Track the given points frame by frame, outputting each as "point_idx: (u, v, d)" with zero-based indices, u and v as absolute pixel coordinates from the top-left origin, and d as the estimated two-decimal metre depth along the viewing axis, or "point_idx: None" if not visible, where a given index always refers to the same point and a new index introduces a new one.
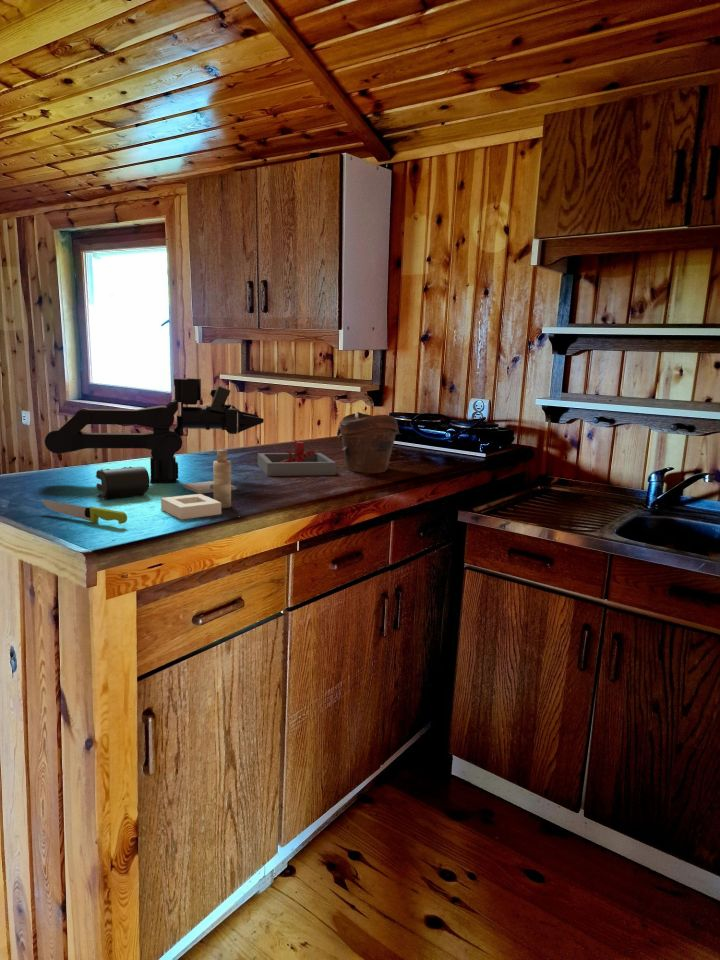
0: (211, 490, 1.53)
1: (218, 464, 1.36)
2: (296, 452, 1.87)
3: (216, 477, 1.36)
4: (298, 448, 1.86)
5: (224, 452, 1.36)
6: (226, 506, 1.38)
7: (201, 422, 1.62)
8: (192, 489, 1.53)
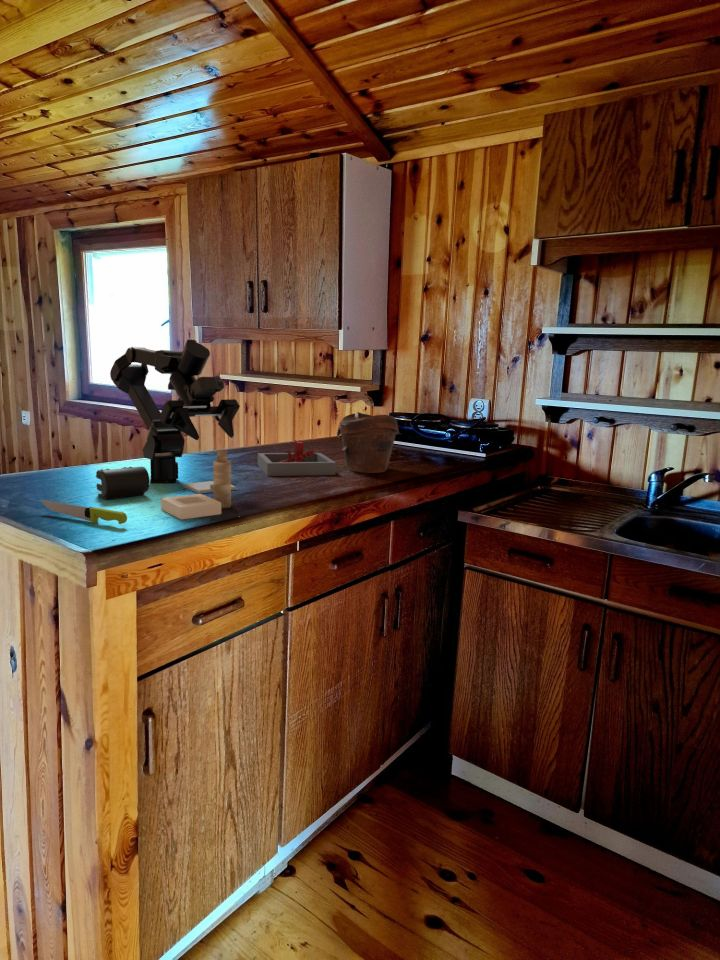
0: (211, 490, 1.53)
1: (218, 464, 1.36)
2: (295, 452, 1.87)
3: (216, 477, 1.36)
4: (297, 448, 1.86)
5: (224, 452, 1.36)
6: (226, 506, 1.38)
7: (177, 392, 1.49)
8: (192, 489, 1.53)
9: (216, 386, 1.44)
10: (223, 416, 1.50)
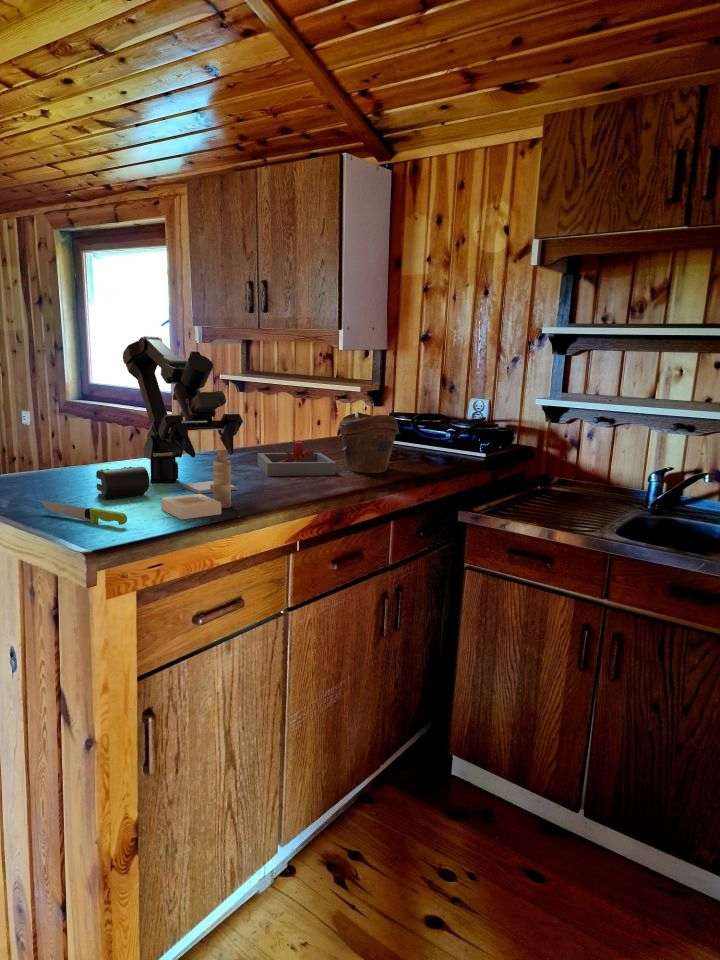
0: (211, 490, 1.53)
1: (218, 464, 1.36)
2: (295, 452, 1.87)
3: (216, 477, 1.36)
4: (297, 448, 1.86)
5: (224, 452, 1.36)
6: (226, 506, 1.38)
7: (179, 404, 1.46)
8: (192, 489, 1.53)
9: (216, 402, 1.40)
10: (225, 431, 1.46)
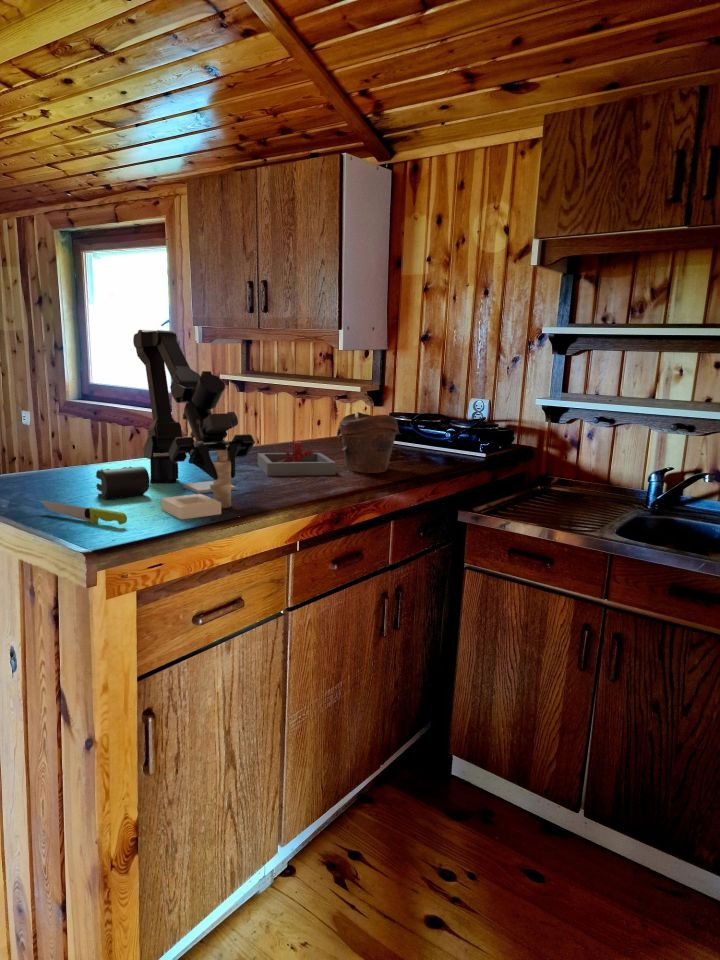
0: (211, 490, 1.53)
1: (218, 464, 1.36)
2: (294, 452, 1.87)
3: None
4: (296, 448, 1.86)
5: (224, 452, 1.36)
6: (226, 506, 1.38)
7: (190, 425, 1.42)
8: (192, 489, 1.53)
9: (228, 424, 1.36)
10: None
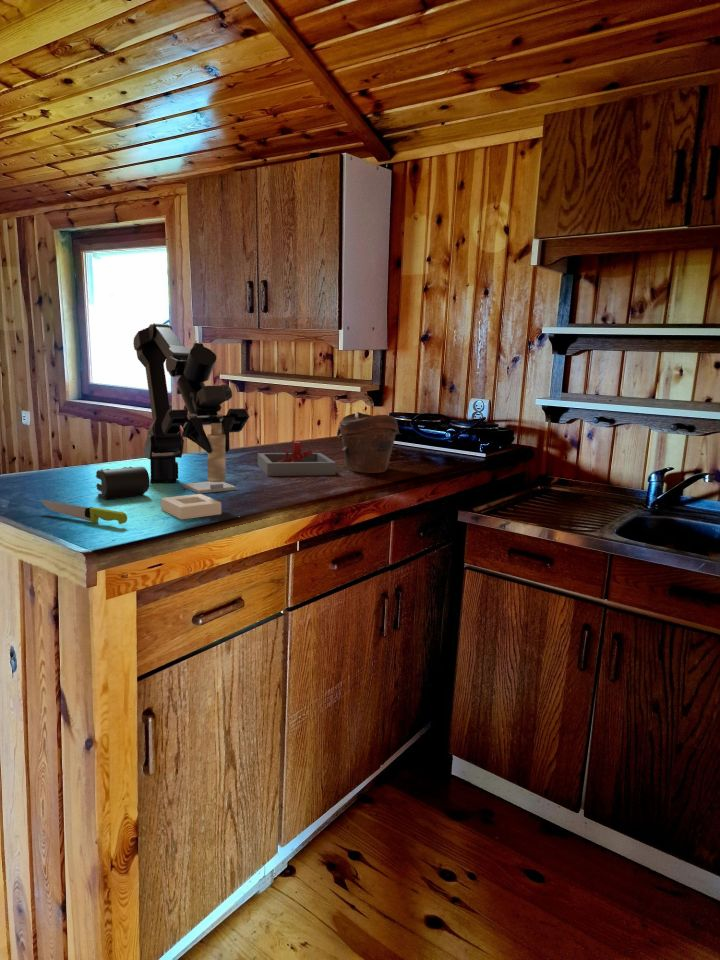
0: (211, 490, 1.53)
1: (212, 437, 1.33)
2: (293, 452, 1.87)
3: None
4: (295, 448, 1.86)
5: (218, 425, 1.34)
6: (220, 480, 1.36)
7: (183, 398, 1.40)
8: (192, 489, 1.53)
9: (222, 396, 1.34)
10: None
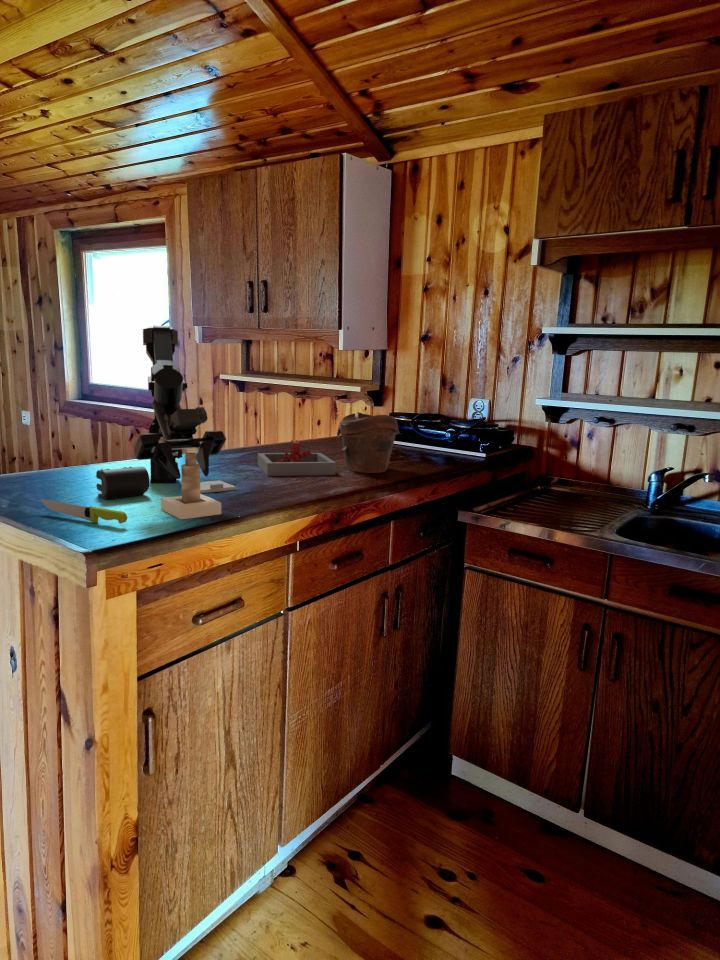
0: (211, 490, 1.53)
1: (186, 468, 1.30)
2: (292, 452, 1.87)
3: (184, 481, 1.30)
4: (294, 448, 1.86)
5: (192, 455, 1.30)
6: None
7: (158, 421, 1.36)
8: None
9: (197, 419, 1.30)
10: (200, 450, 1.35)
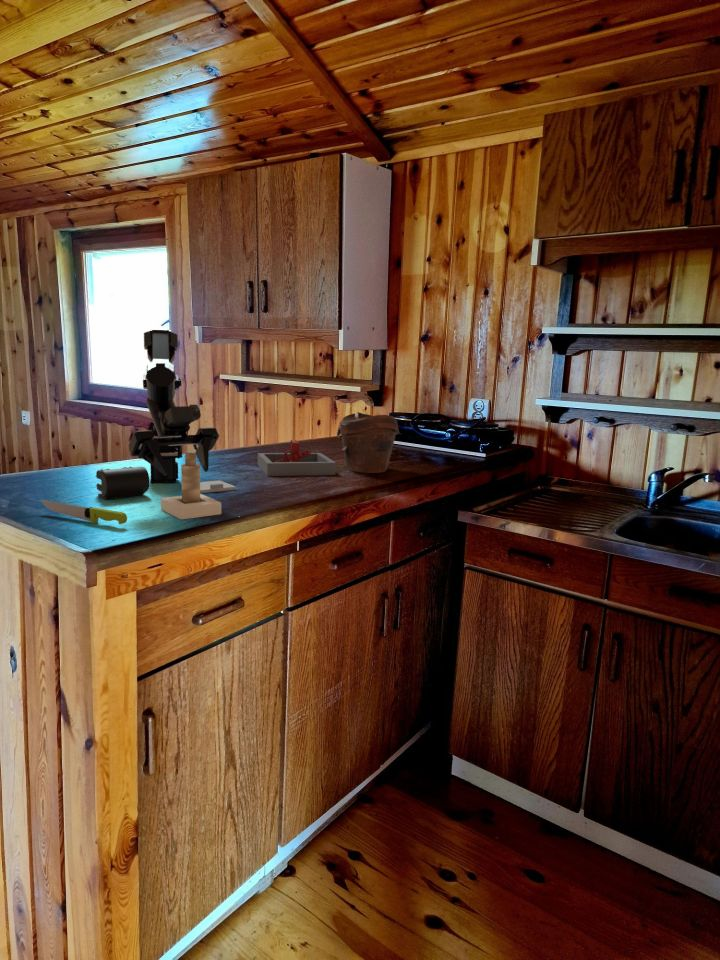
0: (211, 490, 1.53)
1: (186, 468, 1.30)
2: (291, 452, 1.86)
3: (184, 481, 1.30)
4: (293, 448, 1.86)
5: (192, 455, 1.30)
6: None
7: (152, 418, 1.38)
8: None
9: (190, 417, 1.33)
10: (200, 446, 1.39)
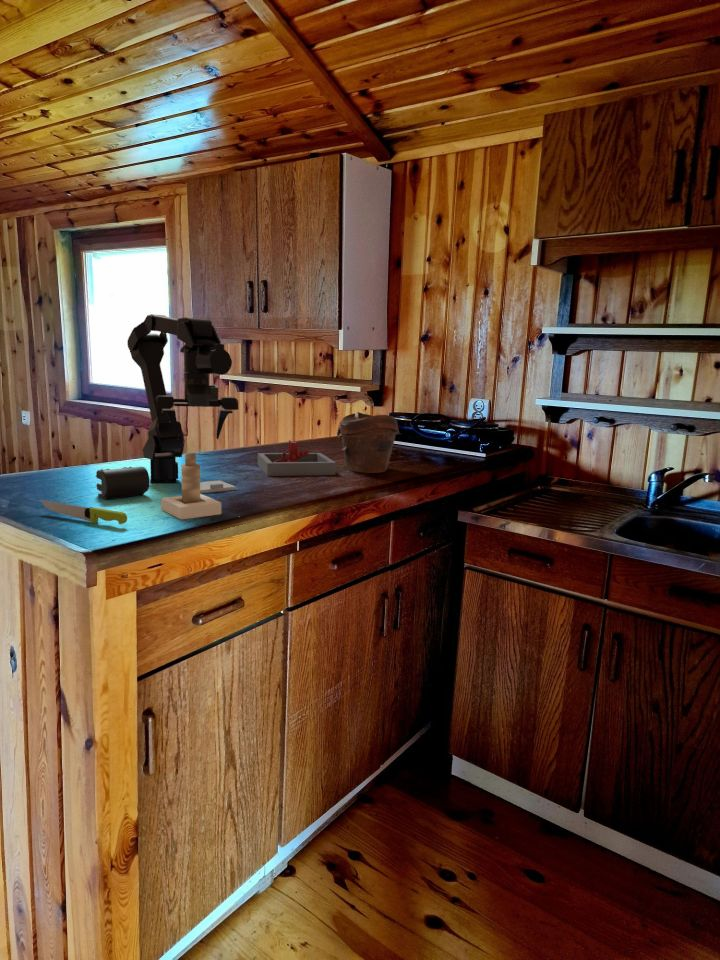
0: (211, 490, 1.53)
1: (186, 468, 1.30)
2: (289, 452, 1.86)
3: (184, 481, 1.30)
4: (291, 448, 1.86)
5: (192, 455, 1.30)
6: None
7: None
8: None
9: (205, 404, 1.42)
10: (219, 413, 1.50)
